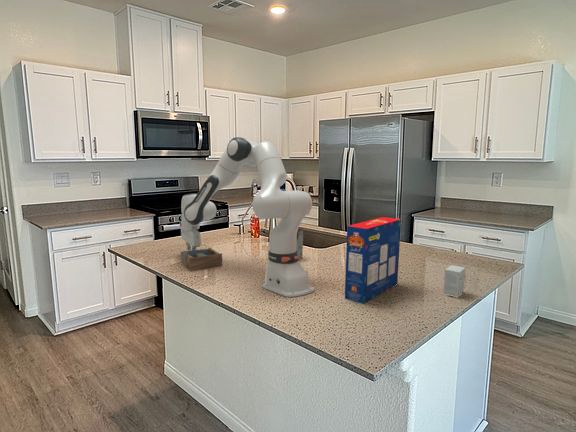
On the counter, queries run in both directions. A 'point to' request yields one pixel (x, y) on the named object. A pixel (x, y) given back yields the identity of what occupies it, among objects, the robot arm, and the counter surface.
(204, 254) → the dark gray rectangular block
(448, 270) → the small box
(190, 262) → the wooden u-shaped block
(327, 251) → the counter surface
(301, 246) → the coffee box
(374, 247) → the blue red retail box
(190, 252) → the rounded end plank
